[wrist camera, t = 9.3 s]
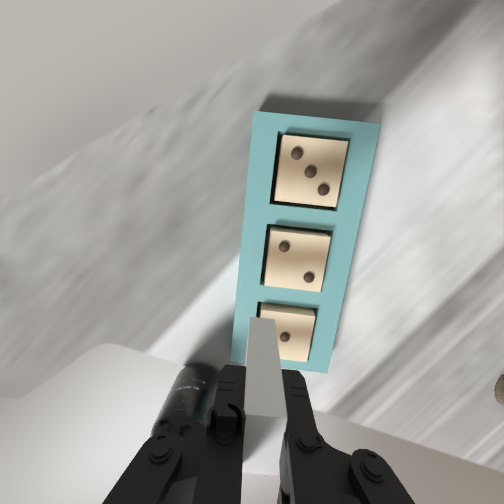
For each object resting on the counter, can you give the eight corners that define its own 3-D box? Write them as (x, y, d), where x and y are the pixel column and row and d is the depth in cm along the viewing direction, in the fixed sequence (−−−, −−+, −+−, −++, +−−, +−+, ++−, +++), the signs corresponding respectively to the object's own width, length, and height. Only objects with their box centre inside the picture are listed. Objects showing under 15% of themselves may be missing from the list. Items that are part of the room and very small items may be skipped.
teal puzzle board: (322, 359, 34) (327, 373, 31) (232, 348, 34) (230, 361, 31) (370, 129, 26) (380, 123, 24) (254, 117, 26) (253, 110, 24)
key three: (329, 205, 27) (336, 207, 25) (274, 199, 28) (274, 200, 25) (340, 145, 26) (348, 141, 23) (281, 139, 26) (283, 134, 23)
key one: (303, 348, 32) (307, 363, 30) (256, 343, 32) (255, 357, 30) (311, 305, 31) (315, 317, 28) (261, 300, 31) (261, 310, 28)
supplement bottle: (200, 352, 34) (167, 438, 23) (235, 385, 35) (220, 483, 24) (166, 379, 36) (118, 473, 24) (200, 410, 37) (170, 514, 25)
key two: (315, 283, 30) (320, 292, 27) (264, 277, 30) (264, 286, 27) (325, 232, 28) (331, 237, 25) (270, 226, 28) (271, 231, 26)
